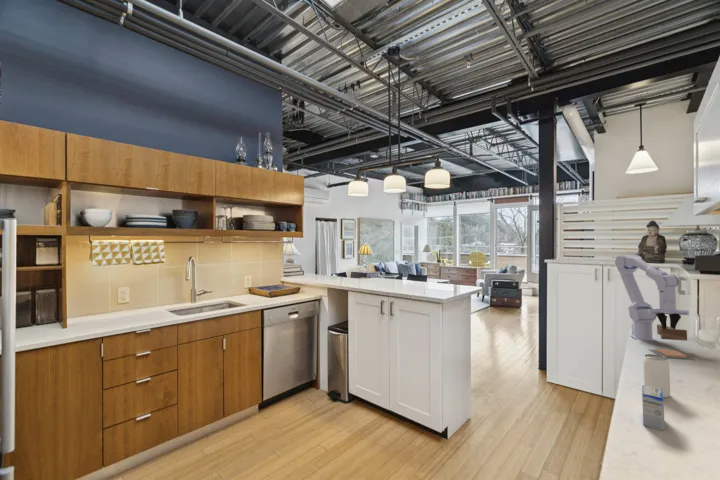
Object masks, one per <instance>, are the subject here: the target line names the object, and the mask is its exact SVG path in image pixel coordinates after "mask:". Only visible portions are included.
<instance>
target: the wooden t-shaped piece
mask: <svg viewBox="0 0 720 480" xmlns="http://www.w3.org/2000/svg"><path fill="white" fill-rule="evenodd" d="M666 326H667V325H666ZM656 331H657V335H659V336H660V339H661V340H670V341H671V340H673V341H688V330H687V329H678V328H677V329H676V328H675V329H674V328H671V327H670V326H667V328H666V329H662V325H661V324H656Z"/></svg>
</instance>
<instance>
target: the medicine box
mask: <svg viewBox="0 0 720 480" xmlns="http://www.w3.org/2000/svg"><path fill="white" fill-rule="evenodd" d="M641 392H642V393H641V394H642V395H641V396H642V397H641V398H642V400H641V401H642V425H643V426H644V427H648V428H652V429H656V430H659V431H665V399H664V398H663V391H662V389H660V388H656V387H652V386H646V385H644V384H643V385H642V391H641Z"/></svg>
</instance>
